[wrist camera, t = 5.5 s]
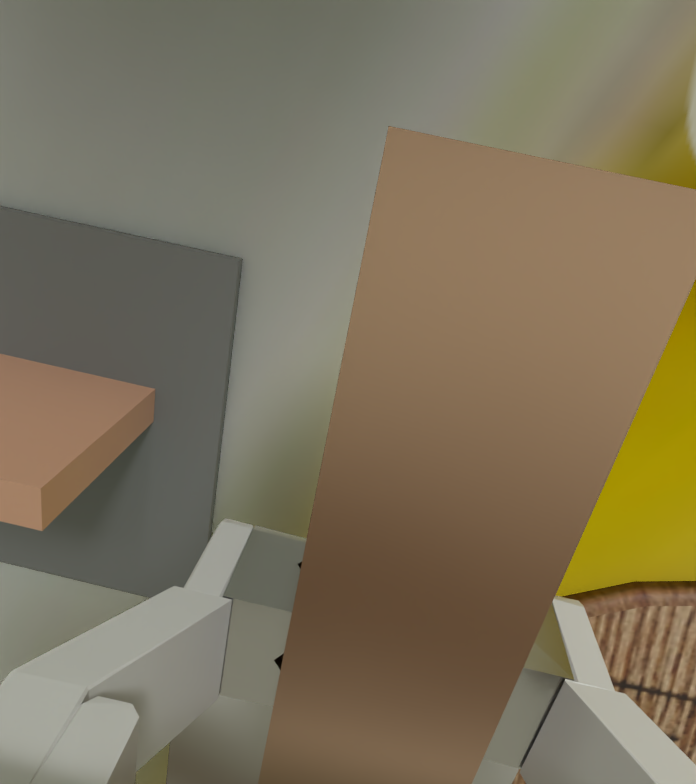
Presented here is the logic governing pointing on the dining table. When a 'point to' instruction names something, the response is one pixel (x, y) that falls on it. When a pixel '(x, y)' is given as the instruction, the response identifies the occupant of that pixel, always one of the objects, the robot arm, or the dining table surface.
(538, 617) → the turner
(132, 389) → the tile
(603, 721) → the robot arm
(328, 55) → the dining table surface
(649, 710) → the trivet
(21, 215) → the mat
